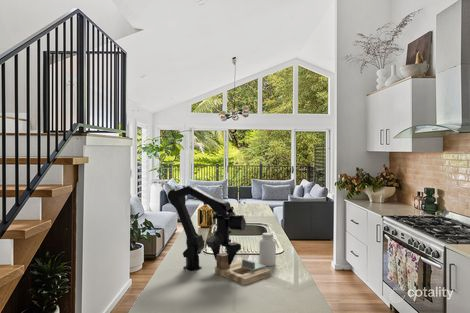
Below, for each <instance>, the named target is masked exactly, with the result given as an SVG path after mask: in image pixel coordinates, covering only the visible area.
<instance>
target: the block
mask: <svg viewBox="0 0 470 313" xmlns="http://www.w3.org/2000/svg"><path fill="white" fill-rule="evenodd" d="M216 258H217V260H216V267H217V268H220V269H226V268H230V265H228V254H227V253H226V252H219V254H216Z"/></svg>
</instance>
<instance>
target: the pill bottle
mask: <svg viewBox="0 0 470 313" xmlns="http://www.w3.org/2000/svg"><path fill="white" fill-rule="evenodd" d="M261 237H262V238H261V239H260V240H259V264H262V265H265V266H266V267H272V266H275V265H276V263H277V258H276V257H277V253H276V252H277V248H276V245H277V243H276V240H275V239H274V234H273V233H272V232H263V233H262V235H261Z"/></svg>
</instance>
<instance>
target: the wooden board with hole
mask: <svg viewBox="0 0 470 313" xmlns="http://www.w3.org/2000/svg"><path fill="white" fill-rule="evenodd" d="M241 265H242V259H240V260H235V261H232V263H231V265H230V268H226V269H220V268H217V266H215V267H214V274H217V275H219V276H221V277H225V278H227V279H229V280H233V281H234V282H238V283H239V284H242V285H243V286H245V285H247V284H250V283H254V282H256V281H258V280H261V279H265V278H267V277H270V276H271V275H272V274H271V271H272V270H270V269H269V268H266V267H264V268H261V269H258V270H255V271H252V270H249V269H246V268H244V267H241ZM242 273H243V274H242Z"/></svg>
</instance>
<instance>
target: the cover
mask: <svg viewBox="0 0 470 313" xmlns="http://www.w3.org/2000/svg"><path fill="white" fill-rule="evenodd" d="M241 261H242V265H241V267H244V268H246V269H249V270H252V271H255V270H258V269H261V268H266V267H267V266H265V265H262V264H260V262H257V261H256V262H255V261H253V260H249V259H247V258H243V259H241Z"/></svg>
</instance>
